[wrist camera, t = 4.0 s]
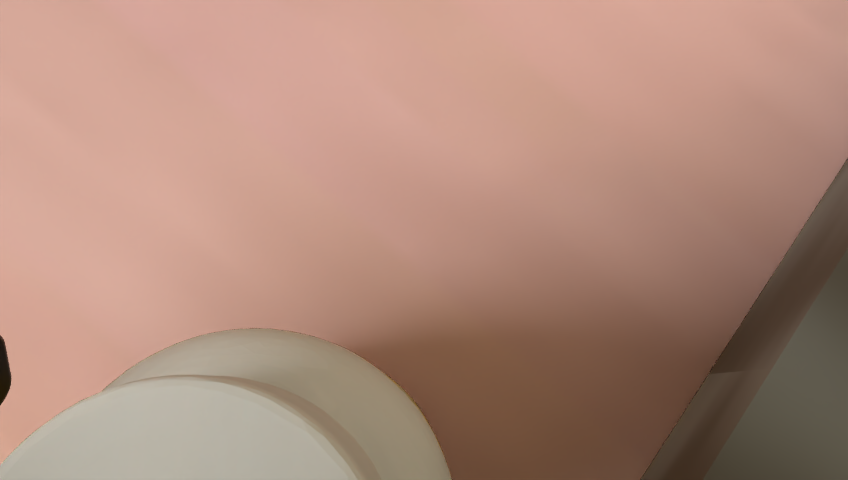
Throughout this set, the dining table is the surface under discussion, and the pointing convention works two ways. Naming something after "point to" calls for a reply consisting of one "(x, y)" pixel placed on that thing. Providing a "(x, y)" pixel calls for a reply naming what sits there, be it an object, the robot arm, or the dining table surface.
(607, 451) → the dining table surface
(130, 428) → the supplement bottle
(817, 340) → the notched board
